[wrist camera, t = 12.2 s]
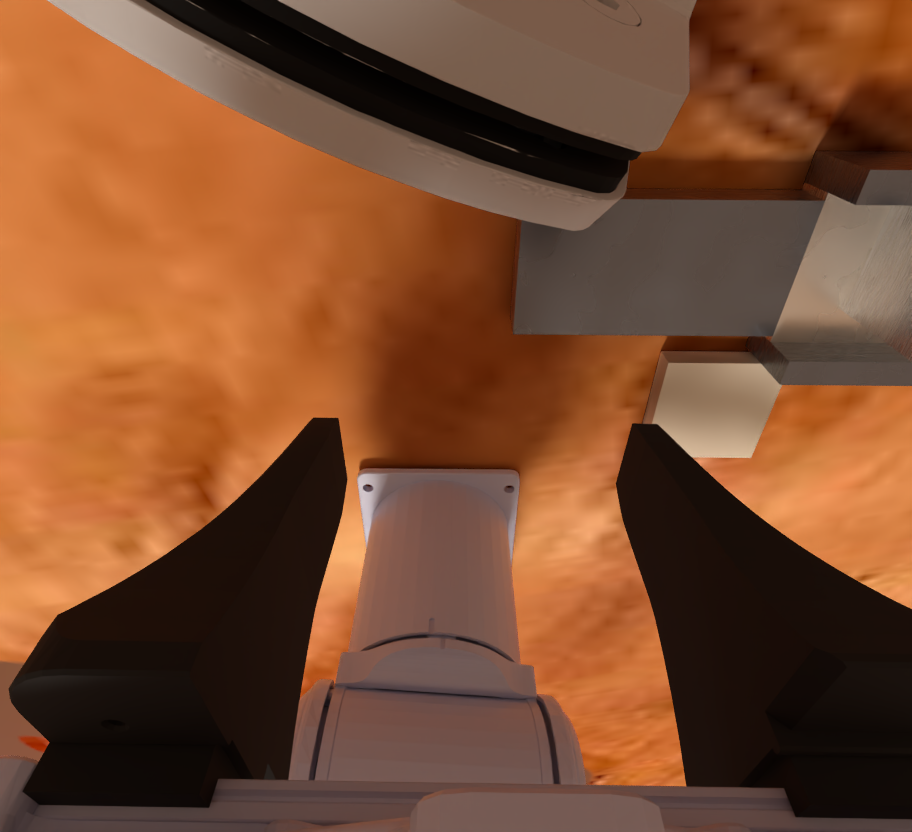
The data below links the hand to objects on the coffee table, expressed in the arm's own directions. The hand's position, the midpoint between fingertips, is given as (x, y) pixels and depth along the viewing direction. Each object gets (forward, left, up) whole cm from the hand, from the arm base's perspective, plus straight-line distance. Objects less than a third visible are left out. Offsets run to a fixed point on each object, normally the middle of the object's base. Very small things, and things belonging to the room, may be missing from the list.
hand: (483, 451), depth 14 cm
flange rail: (+2, -10, -10) cm, 14 cm away
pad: (-5, -10, -10) cm, 15 cm away
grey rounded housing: (+10, +3, -10) cm, 15 cm away
